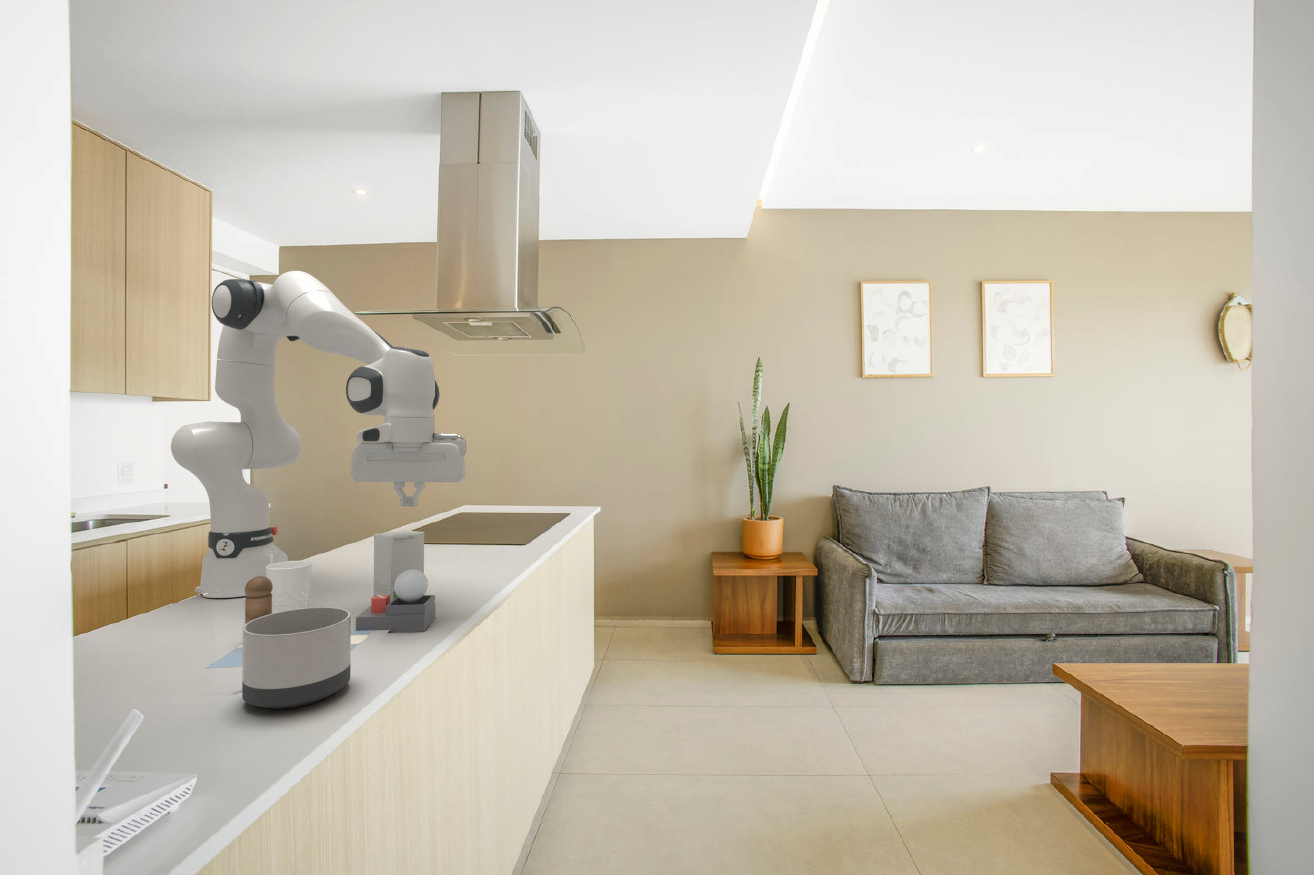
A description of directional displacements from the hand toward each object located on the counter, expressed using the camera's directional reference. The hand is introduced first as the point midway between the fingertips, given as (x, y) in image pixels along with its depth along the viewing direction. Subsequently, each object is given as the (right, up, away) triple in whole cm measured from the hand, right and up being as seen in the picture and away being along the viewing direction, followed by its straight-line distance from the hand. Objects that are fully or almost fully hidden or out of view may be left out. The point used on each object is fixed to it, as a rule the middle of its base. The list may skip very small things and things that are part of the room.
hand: (409, 505), depth 113 cm
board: (-13, -23, -13) cm, 30 cm away
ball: (0, -18, 0) cm, 18 cm away
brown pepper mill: (-21, -22, -11) cm, 33 cm away
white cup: (-27, -23, +7) cm, 36 cm away
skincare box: (-8, -23, +13) cm, 28 cm away
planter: (-3, -23, -30) cm, 38 cm away
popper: (-2, -23, 0) cm, 23 cm away
